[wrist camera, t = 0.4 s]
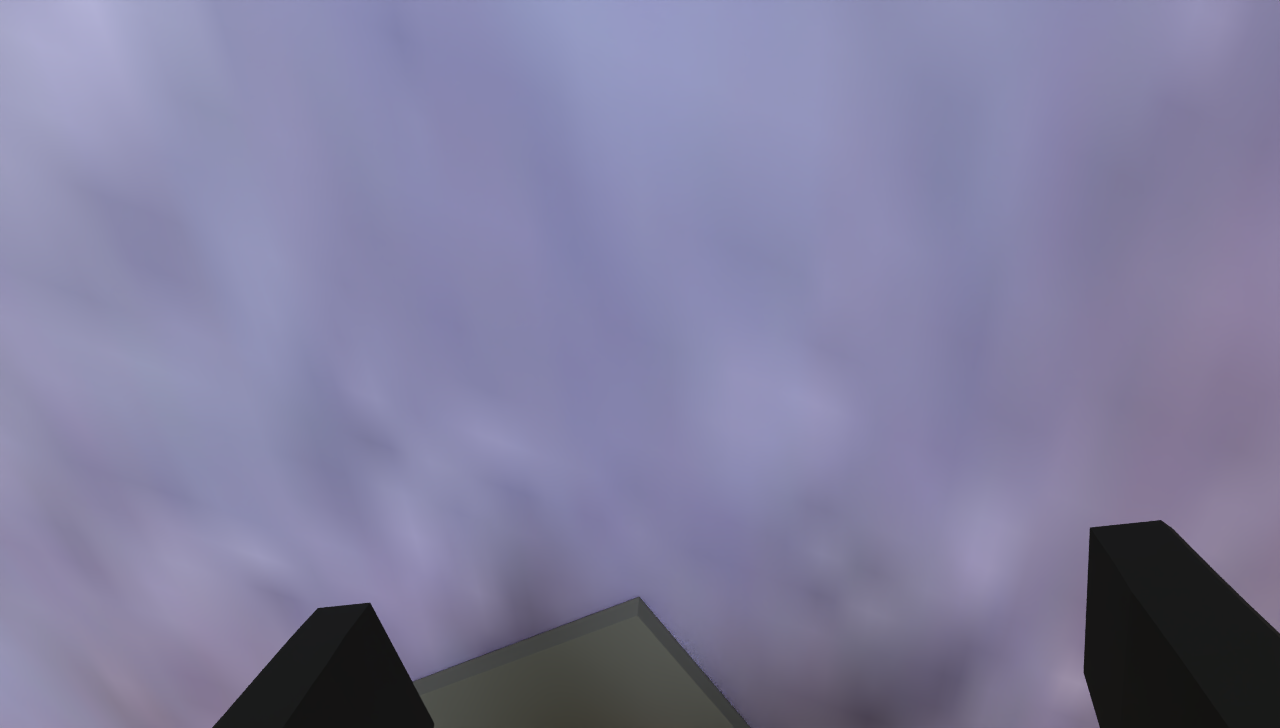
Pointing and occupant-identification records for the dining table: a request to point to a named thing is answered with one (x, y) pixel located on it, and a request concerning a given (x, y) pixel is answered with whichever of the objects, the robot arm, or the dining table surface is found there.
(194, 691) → the dining table surface
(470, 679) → the mat
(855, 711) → the dining table surface
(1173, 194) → the dining table surface
